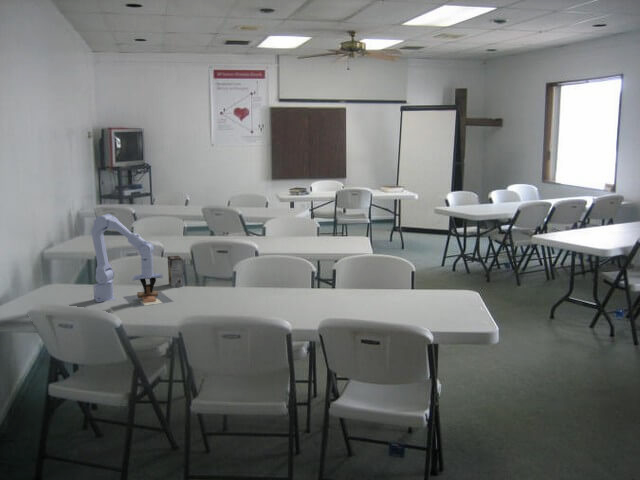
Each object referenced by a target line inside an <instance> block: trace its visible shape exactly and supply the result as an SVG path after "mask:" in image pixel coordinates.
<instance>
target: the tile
mask: <svg viewBox="0 0 640 480" xmlns="http://www.w3.org/2000/svg"><path fill="white" fill-rule="evenodd" d="M142 300H143V302H144V303H145V302H154V301H156V298H155V297H154V296H144V297H142Z"/></svg>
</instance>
